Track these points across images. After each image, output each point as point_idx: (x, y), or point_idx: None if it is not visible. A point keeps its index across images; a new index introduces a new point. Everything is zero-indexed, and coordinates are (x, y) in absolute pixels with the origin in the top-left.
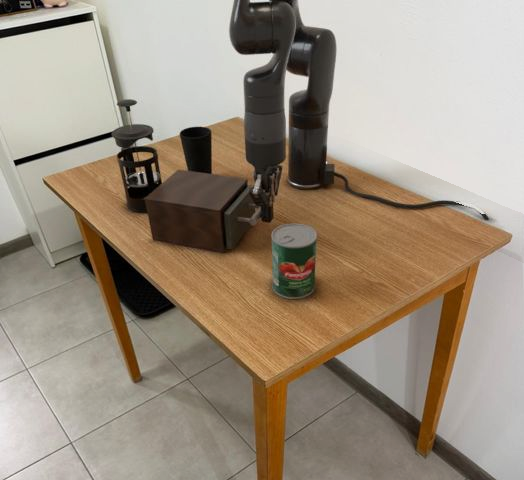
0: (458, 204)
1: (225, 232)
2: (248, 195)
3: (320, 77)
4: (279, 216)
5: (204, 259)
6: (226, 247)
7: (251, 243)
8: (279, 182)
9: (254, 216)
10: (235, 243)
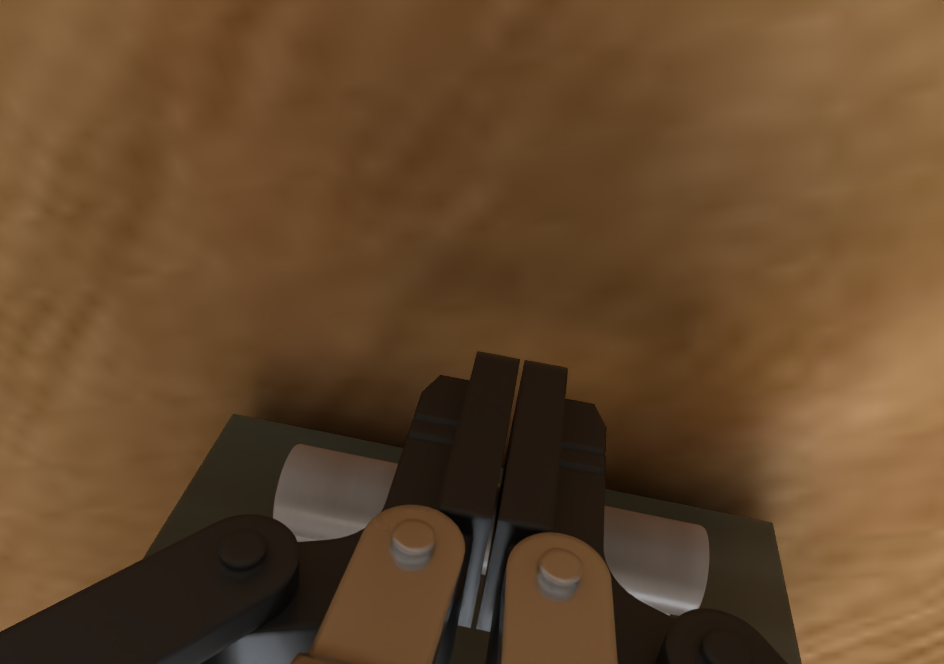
0: None
1: None
2: None
3: None
4: (66, 217)
5: (851, 635)
6: None
7: (595, 385)
8: (15, 632)
9: (638, 591)
10: (700, 518)
